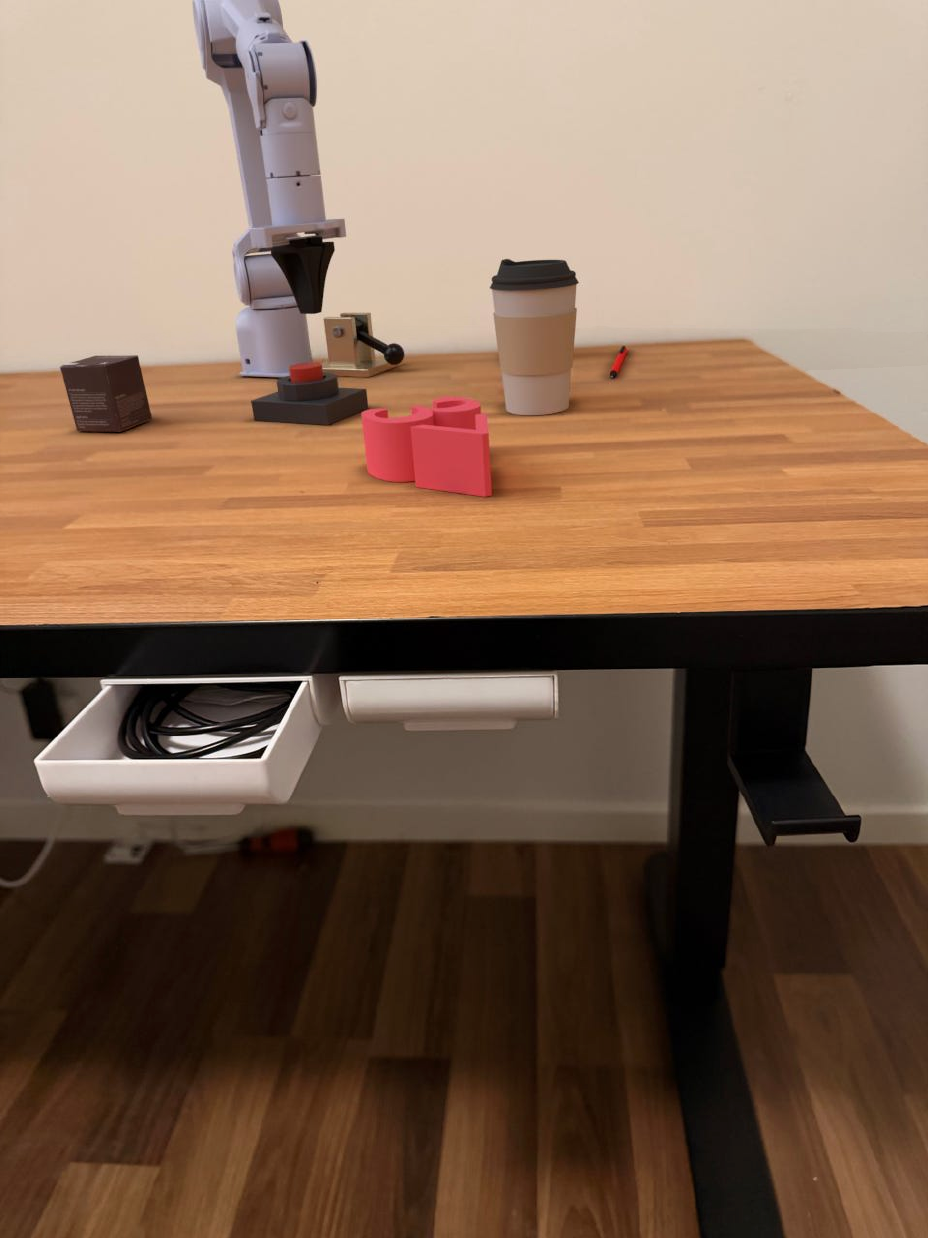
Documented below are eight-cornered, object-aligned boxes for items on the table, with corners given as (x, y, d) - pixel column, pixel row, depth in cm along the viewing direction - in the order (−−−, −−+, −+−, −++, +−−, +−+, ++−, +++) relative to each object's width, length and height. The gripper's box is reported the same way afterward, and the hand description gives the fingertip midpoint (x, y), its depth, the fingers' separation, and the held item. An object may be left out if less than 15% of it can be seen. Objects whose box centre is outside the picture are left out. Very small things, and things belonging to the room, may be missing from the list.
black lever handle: (404, 366, 122) (410, 347, 120) (394, 370, 120) (400, 350, 118) (343, 332, 124) (348, 313, 122) (332, 335, 122) (337, 316, 120)
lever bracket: (399, 365, 125) (394, 310, 122) (368, 377, 119) (362, 319, 116) (339, 363, 129) (333, 310, 126) (306, 374, 123) (299, 319, 120)
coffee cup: (590, 399, 99) (590, 252, 92) (563, 419, 91) (560, 261, 85) (514, 397, 102) (508, 255, 96) (482, 415, 95) (474, 264, 88)
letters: (541, 484, 72) (540, 422, 70) (428, 510, 68) (422, 445, 66) (461, 448, 84) (457, 394, 82) (359, 468, 80) (353, 412, 78)
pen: (627, 352, 124) (627, 343, 124) (615, 380, 108) (615, 370, 107) (621, 352, 125) (621, 343, 124) (608, 380, 108) (608, 370, 108)
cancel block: (254, 420, 100) (248, 383, 98) (296, 404, 106) (291, 369, 104) (328, 425, 95) (323, 387, 94) (368, 408, 102) (364, 372, 100)
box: (154, 420, 103) (140, 354, 100) (119, 433, 98) (104, 364, 95) (110, 419, 105) (95, 354, 102) (75, 432, 100) (58, 364, 97)
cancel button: (284, 384, 98) (282, 368, 98) (303, 377, 101) (301, 361, 101) (311, 385, 97) (309, 368, 96) (330, 378, 100) (328, 362, 99)
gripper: (282, 176, 87) (301, 323, 93) (362, 173, 98) (375, 303, 104) (225, 181, 90) (247, 322, 96) (310, 177, 101) (325, 303, 107)
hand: (310, 312), depth 100 cm, fingers closed
